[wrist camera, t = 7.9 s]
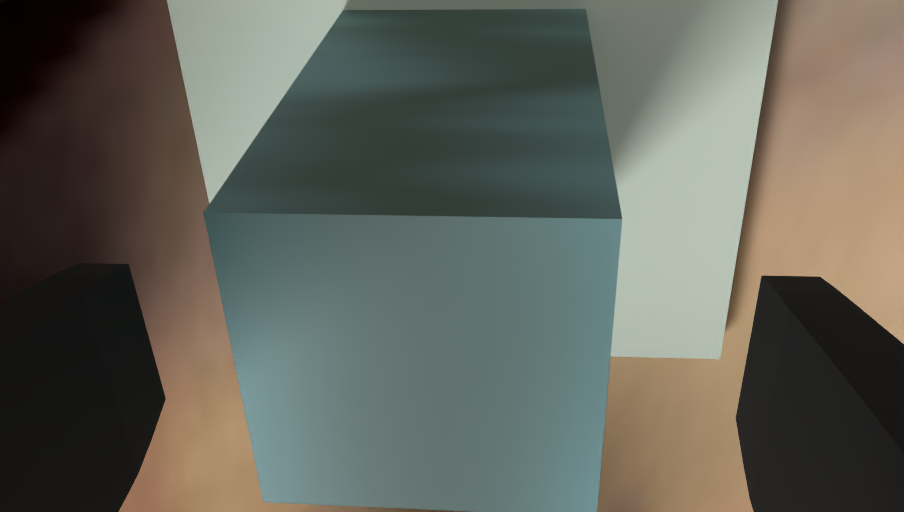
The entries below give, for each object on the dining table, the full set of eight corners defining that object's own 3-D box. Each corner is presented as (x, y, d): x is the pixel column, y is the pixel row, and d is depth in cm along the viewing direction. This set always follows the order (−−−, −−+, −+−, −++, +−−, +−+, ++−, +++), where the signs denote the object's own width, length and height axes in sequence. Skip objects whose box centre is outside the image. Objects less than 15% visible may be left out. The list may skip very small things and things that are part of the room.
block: (585, 9, 14) (622, 218, 8) (574, 223, 16) (597, 517, 10) (343, 10, 14) (204, 211, 8) (362, 220, 16) (263, 502, 10)
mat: (799, -203, 13) (810, -199, 12) (714, 340, 18) (720, 358, 17) (144, -179, 13) (129, -177, 13) (247, 330, 19) (239, 347, 18)
